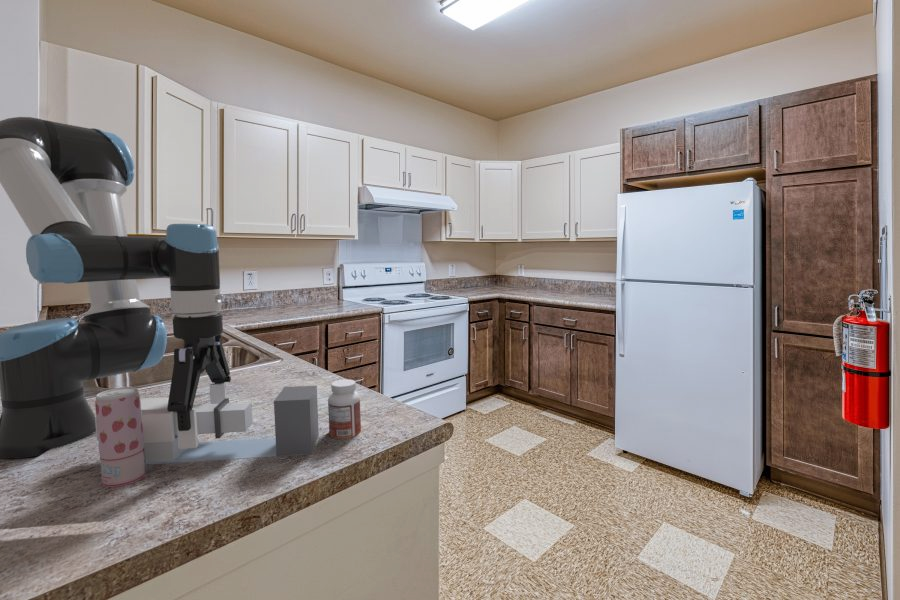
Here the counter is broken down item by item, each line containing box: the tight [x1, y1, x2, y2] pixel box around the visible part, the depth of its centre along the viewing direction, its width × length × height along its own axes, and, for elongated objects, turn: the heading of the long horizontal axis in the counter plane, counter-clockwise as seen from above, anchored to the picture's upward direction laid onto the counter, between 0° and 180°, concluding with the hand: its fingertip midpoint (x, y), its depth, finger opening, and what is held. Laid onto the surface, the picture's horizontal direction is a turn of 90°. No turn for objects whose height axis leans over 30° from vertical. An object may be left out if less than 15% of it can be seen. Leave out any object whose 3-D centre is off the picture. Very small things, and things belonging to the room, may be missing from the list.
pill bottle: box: [327, 379, 362, 439], centre depth 87 cm, size 6×6×11 cm
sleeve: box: [140, 396, 187, 463], centre depth 77 cm, size 9×7×9 cm
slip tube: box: [95, 397, 254, 441], centre depth 78 cm, size 24×5×5 cm, turn 98°
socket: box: [273, 385, 320, 457], centre depth 81 cm, size 6×8×10 cm
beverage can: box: [94, 386, 147, 488], centre depth 69 cm, size 6×6×15 cm
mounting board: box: [146, 435, 319, 466], centre depth 80 cm, size 32×8×1 cm, turn 98°
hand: (205, 430), depth 79 cm, fingers open, 13 cm apart
